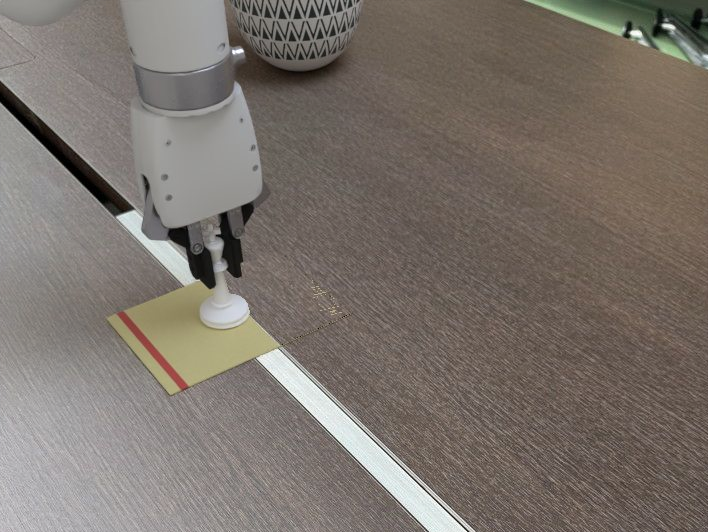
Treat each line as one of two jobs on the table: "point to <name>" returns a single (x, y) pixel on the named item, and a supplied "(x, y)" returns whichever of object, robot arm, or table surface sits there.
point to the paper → (188, 338)
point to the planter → (297, 30)
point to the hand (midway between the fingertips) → (218, 275)
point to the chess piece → (221, 289)
